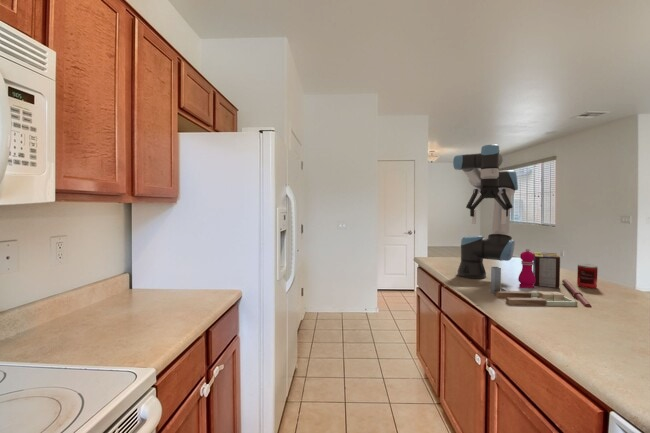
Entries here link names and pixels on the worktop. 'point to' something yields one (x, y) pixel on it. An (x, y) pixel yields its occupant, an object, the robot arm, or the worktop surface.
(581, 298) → the rolling pin
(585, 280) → the canned food
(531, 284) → the pepper mill
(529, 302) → the groove board
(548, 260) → the protein box
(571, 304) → the tray
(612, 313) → the worktop surface
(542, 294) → the beige cube
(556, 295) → the light wooden cube
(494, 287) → the t-shaped gray bracket
